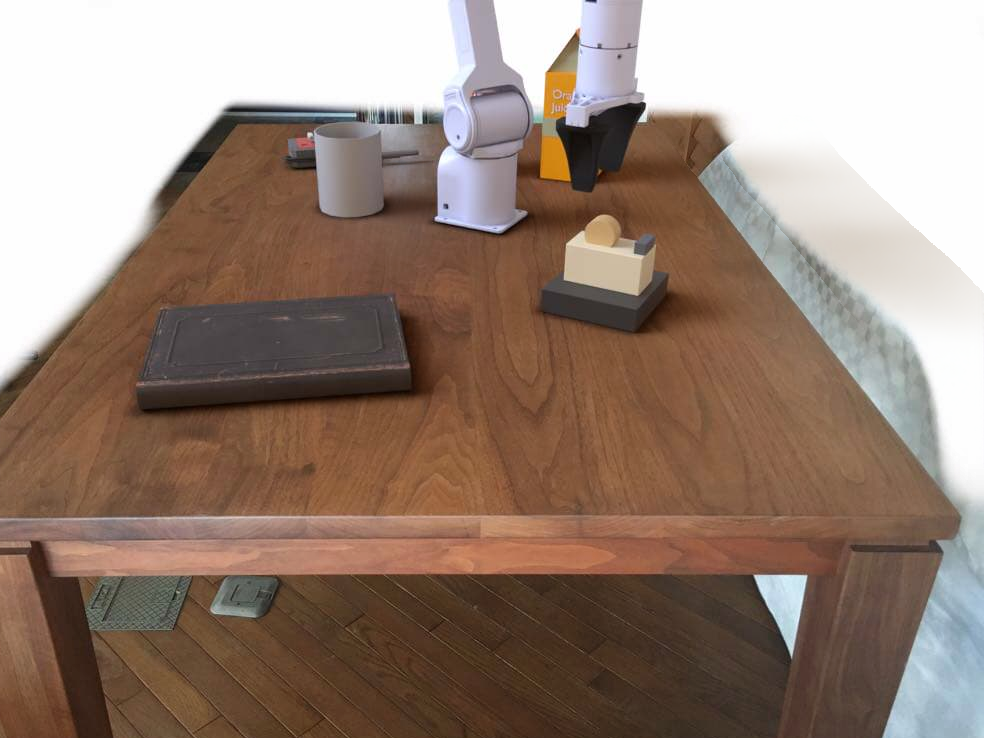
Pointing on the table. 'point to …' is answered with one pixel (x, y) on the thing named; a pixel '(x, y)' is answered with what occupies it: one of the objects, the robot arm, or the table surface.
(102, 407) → the table surface
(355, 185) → the cup
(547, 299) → the black box
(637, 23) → the robot arm
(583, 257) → the tape dispenser
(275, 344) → the hardcover book
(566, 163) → the orange juice
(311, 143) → the walkie-talkie
